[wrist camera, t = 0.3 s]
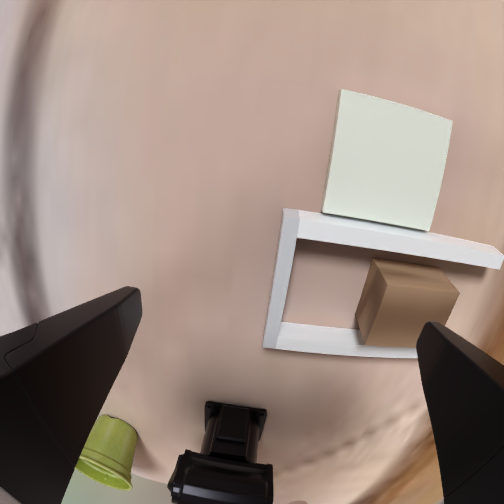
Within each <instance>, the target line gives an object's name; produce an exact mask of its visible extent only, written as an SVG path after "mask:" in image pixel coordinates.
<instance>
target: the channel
mask: <svg viewBox="0 0 504 504" xmlns="http://www.w3.org/2000/svg"><path fill="white" fill-rule="evenodd" d="M297 238H303V239H310V240H317V241H324V242H331V243H338V244H345V245H351V246H358V247H365V248H372V249H378V250H385V251H391V252H398V253H404V254H410V255H416V256H423V257H429V258H435V259H441V260H447V261H453V262H459V263H465V264H471V265H477V266H482V267H488V268H494V269H500V267H501V264H502V262H503V259H504V255H503V254H502V253H501V252H499V251H498V250H497V249H496V248H494V247H493V246H491V245H487V244H483V243H478V242H474V241H469V240H465V239H460V238H455V237H450V236H446V235H441V234H436V233H431V232H426V231H421V230H416V229H410V228H405V227H400V226H394V225H389V224H383V223H377V222H372V221H366V220H360V219H354V218H348V217H342V216H336V215H329V214H323V213H316V212H309V211H303V210H296V209H289V208H283V214H282V221H281V228H280V235H279V241H278V248H277V254H276V261H275V267H274V274H273V280H272V286H271V293H270V299H269V305H268V311H267V317H266V323H265V329H264V338H263V347H265V348H273V349H282V350H290V351H300V352H310V353H321V354H333V355H347V356H363V357H385V358H418V357H417V351H416V348H409V347H385V346H367V345H364V342H363V338H362V335H361V331H360V330H358V329H347V328H336V327H326V326H316V325H307V324H298V323H289V322H281V320H282V315H283V310H284V305H285V299H286V294H287V289H288V284H289V278H290V273H291V267H292V262H293V256H294V251H295V245H296V239H297Z"/></svg>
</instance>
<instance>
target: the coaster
mask: <svg viewBox="0 0 504 504" xmlns="http://www.w3.org/2000/svg"><path fill="white" fill-rule="evenodd" d="M451 128H452V121H451V120H449V119H446V118H443V117H440V116H437V115H435V114H432V113H429V112H426V111H423V110H420V109H416V108H413V107H410V106H407V105H403V104H400V103H396V102H393V101H389V100H385V99H382V98H378V97H374V96H370V95H366V94H361V93H357V92H353V91H348V90H343V89H341V90H339V95H338V103H337V111H336V118H335V126H334V133H333V140H332V146H331V153H330V159H329V166H328V172H327V178H326V184H325V190H324V195H323V201H322V207H321V210H322V212H323V213H329V214H336V215H342V216H348V217H354V218H360V219H366V220H372V221H378V222H383V223H389V224H394V225H400V226H405V227H410V228H415V229H421V230H426V231H429V229H430V226H431V222H432V219H433V215H434V211H435V207H436V203H437V199H438V195H439V191H440V187H441V182H442V178H443V173H444V168H445V163H446V158H447V153H448V147H449V141H450V135H451Z"/></svg>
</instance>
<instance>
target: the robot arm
mask: <svg viewBox="0 0 504 504" xmlns="http://www.w3.org/2000/svg"><path fill="white" fill-rule="evenodd" d="M141 317H142V303H141V293H140V290H139V289H138V288H135V287H130V286H126V287H123V288H121V289H118V290H116V291H113V292H111V293H108V294H106V295H103V296H101V297H98V298H96V299H93V300H91V301H88V302H86V303H83V304H81V305H78V306H76V307H74V308H71V309H69V310H66V311H64V312H61V313H59V314H56V315H54V316H52V317H49V318H47V319H44V320H42V321H39V323H34V324H32V325H30V326H27V327H25V328H22V329H20V330H17V331H14V332H12V333H9V334H6V335H3V336H0V504H61V502H62V499H63V497H64V494H65V492H66V489H67V487H68V484H69V482H70V479H71V476H72V474H73V472H74V468H75V467H76V464H77V462H78V460H79V457H80V455H81V453H82V450H83V448H84V446H85V443H86V441H87V439H88V437H89V434H90V432H91V430H92V428H93V426H94V423H95V421H96V419H97V417H98V415H99V413H100V410H101V408H102V406H103V404H104V402H105V400H106V398H107V396H108V394H109V392H110V390H111V387H112V385H113V383H114V381H115V379H116V377H117V375H118V373H119V371H120V369H121V367H122V365H123V363H124V361H125V359H126V357H127V355H128V352H129V350H130V347H131V344H132V341H133V339H134V336H135V333H136V331H137V328H138V326H139V323H140V320H141ZM416 351H417V357H418V362H419V368H420V374H421V381H422V386H423V391H424V395H425V399H426V403H427V407H428V411H429V416H430V420H431V425H432V429H433V434H434V439H435V444H436V450H437V455H438V461H439V467H440V474H441V481H442V488H443V496H444V504H504V365H502V364H501V363H500V362H498V361H497V360H495V359H494V358H492V357H491V356H489V355H488V354H486V353H485V352H483V351H482V350H480V349H479V348H477V347H476V346H474V345H473V344H471V343H470V342H468V341H467V340H465V339H464V338H462V337H461V336H459V335H458V334H456V333H455V332H453V331H451V330H450V329H448V328H447V327H445V326H444V325H442V324H441V323H439V322H436V321H428V322H426V323H425V324H424V326H423V329H422V331H421V333H420V335H419V338H418V340H417V343H416ZM266 416H267V411H266V410H265V409H259V408H251V407H243V406H236V405H230V404H224V403H218V402H212V401H207V402H206V403H205V436H204V440H203V444H202V448H201V452H200V453H196V452H192V451H191V450H187V449H186V450H185V453H184V454H183V455H179V457H178V461H177V464H176V467H175V470H174V472H173V474H172V476H171V478H170V480H169V483H168V489H169V490H170V492H171V496H172V503H173V504H273V466H272V464H267V465H266V464H258V463H256V458H257V448H258V441H259V440H260V438H261V434H262V431H263V427H264V423H265V419H266Z"/></svg>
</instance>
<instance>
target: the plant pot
mask: <svg viewBox="0 0 504 504" xmlns="http://www.w3.org/2000/svg"><path fill="white" fill-rule="evenodd" d="M137 437H138V436H137V434H136V431H135V430H134V429H133V428H132V427H131V426H130V425H129V424H127V423H126V422H124V421H122V420H120V419H118V418H111V417H109V416H108V415H102V416H100V417H99V418H98V419H97V421H96V422H95V424H94V426H93V428H92V430H91V432H90V434H89V437H88V439H87V441H86V443H85V446H84V448H83V450H82V453H81V455H80V457H79V460H78V462H77V464H76V467H75V468H76V469H77V470H78V471H80V472H81V473H83V474H85V475H86V476H88V477H89V478H91V479H93V480H95V481H97V482H99V483H101V484H104V485H106V486H109V487H112V488H115V489H120V490H131V489H132V484H131V474H130V473H131V467H132V462H133V457H134V452H135V447H136V442H137Z"/></svg>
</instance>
